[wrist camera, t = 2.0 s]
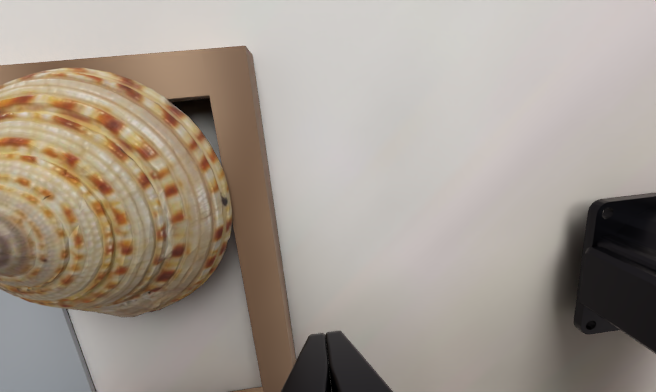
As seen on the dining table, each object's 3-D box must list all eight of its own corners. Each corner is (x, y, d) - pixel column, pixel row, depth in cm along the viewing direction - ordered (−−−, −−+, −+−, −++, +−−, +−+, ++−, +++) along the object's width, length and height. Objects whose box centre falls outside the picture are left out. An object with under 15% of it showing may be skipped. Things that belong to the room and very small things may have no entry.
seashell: (22, 349, 12) (-322, 224, 6) (88, 224, 15) (-75, 66, 9) (244, 334, 12) (149, 198, 6) (257, 215, 16) (207, 54, 9)
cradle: (252, 54, 12) (245, 45, 10) (302, 403, 16) (302, 434, 14) (-17, 76, 11) (-68, 70, 10) (110, 432, 15) (89, 468, 14)
